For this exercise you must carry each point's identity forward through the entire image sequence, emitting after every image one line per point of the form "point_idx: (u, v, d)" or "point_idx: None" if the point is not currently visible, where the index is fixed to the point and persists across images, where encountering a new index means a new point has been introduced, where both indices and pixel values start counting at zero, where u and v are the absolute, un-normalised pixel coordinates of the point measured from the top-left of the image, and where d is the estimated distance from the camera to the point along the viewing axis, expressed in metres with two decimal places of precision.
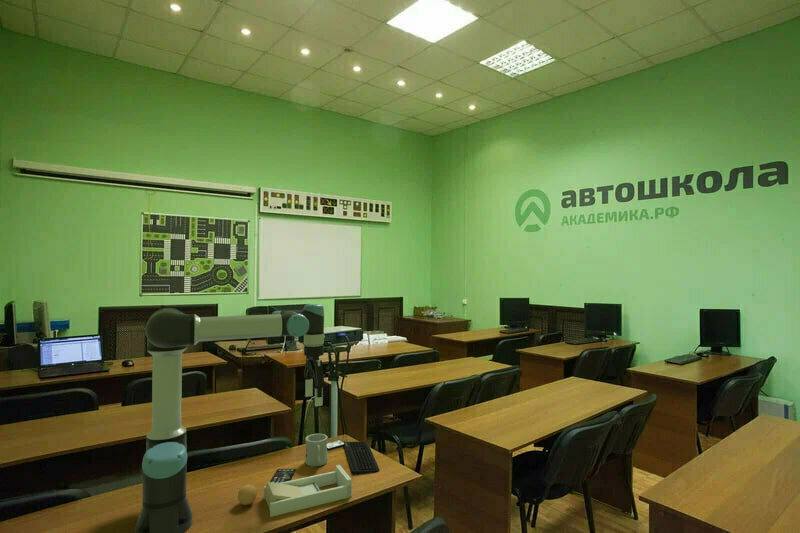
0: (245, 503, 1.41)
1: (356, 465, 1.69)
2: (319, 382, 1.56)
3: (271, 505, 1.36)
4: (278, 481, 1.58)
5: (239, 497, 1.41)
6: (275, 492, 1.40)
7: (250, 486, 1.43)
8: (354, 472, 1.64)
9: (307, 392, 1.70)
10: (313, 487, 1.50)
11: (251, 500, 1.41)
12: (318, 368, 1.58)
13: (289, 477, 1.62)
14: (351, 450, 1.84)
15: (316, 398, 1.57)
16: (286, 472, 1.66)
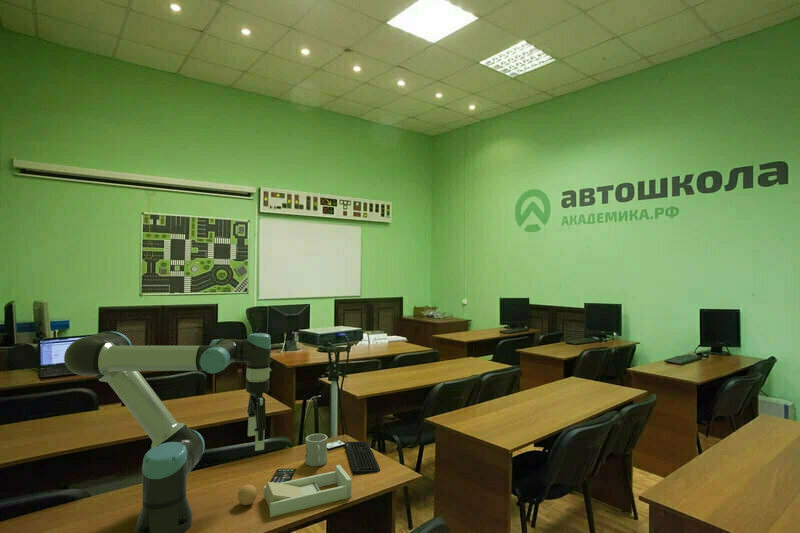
0: (245, 503, 1.41)
1: (357, 465, 1.69)
2: (260, 424, 1.38)
3: (271, 505, 1.36)
4: (278, 481, 1.58)
5: (239, 497, 1.41)
6: (275, 492, 1.40)
7: (250, 486, 1.43)
8: (355, 472, 1.64)
9: (250, 431, 1.52)
10: (313, 487, 1.50)
11: (251, 500, 1.41)
12: (260, 407, 1.40)
13: (289, 477, 1.62)
14: (352, 450, 1.84)
15: (256, 441, 1.40)
16: (286, 472, 1.66)
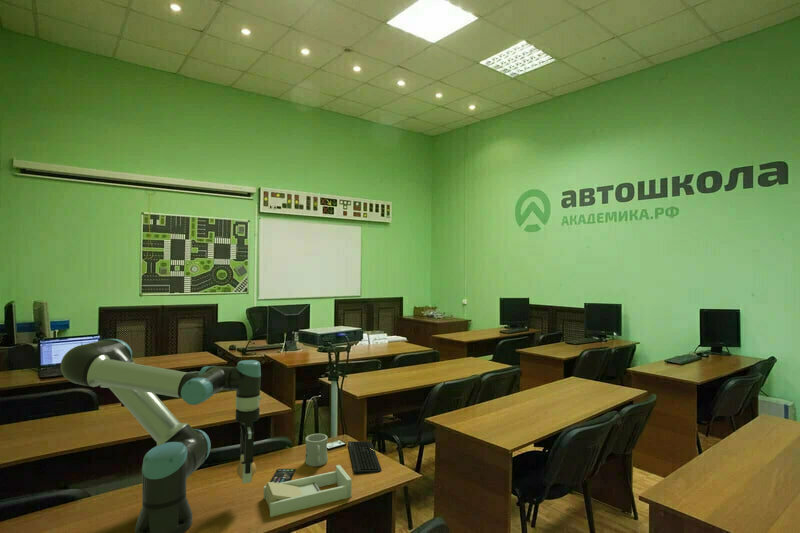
0: None
1: (358, 465, 1.70)
2: (247, 458, 1.37)
3: (271, 505, 1.36)
4: (278, 481, 1.58)
5: (238, 471, 1.41)
6: (275, 492, 1.40)
7: None
8: (356, 472, 1.64)
9: None
10: (313, 487, 1.50)
11: None
12: (248, 442, 1.38)
13: (289, 477, 1.62)
14: (355, 450, 1.84)
15: (244, 474, 1.40)
16: (285, 472, 1.66)
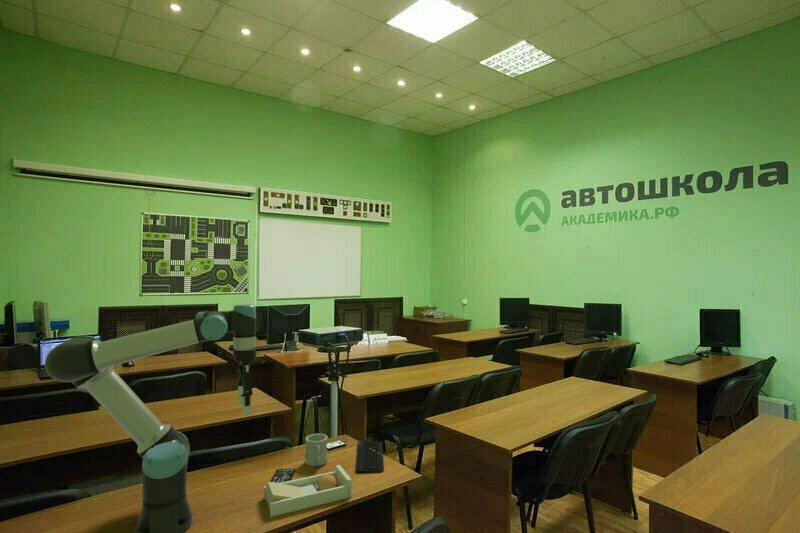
0: None
1: (362, 464, 1.70)
2: (246, 389, 1.43)
3: (271, 505, 1.36)
4: (278, 481, 1.58)
5: (321, 486, 1.48)
6: (275, 492, 1.40)
7: (330, 476, 1.51)
8: (357, 471, 1.65)
9: (240, 399, 1.57)
10: (313, 487, 1.50)
11: None
12: (246, 374, 1.45)
13: (289, 477, 1.62)
14: (362, 449, 1.85)
15: (244, 407, 1.45)
16: (285, 472, 1.66)
